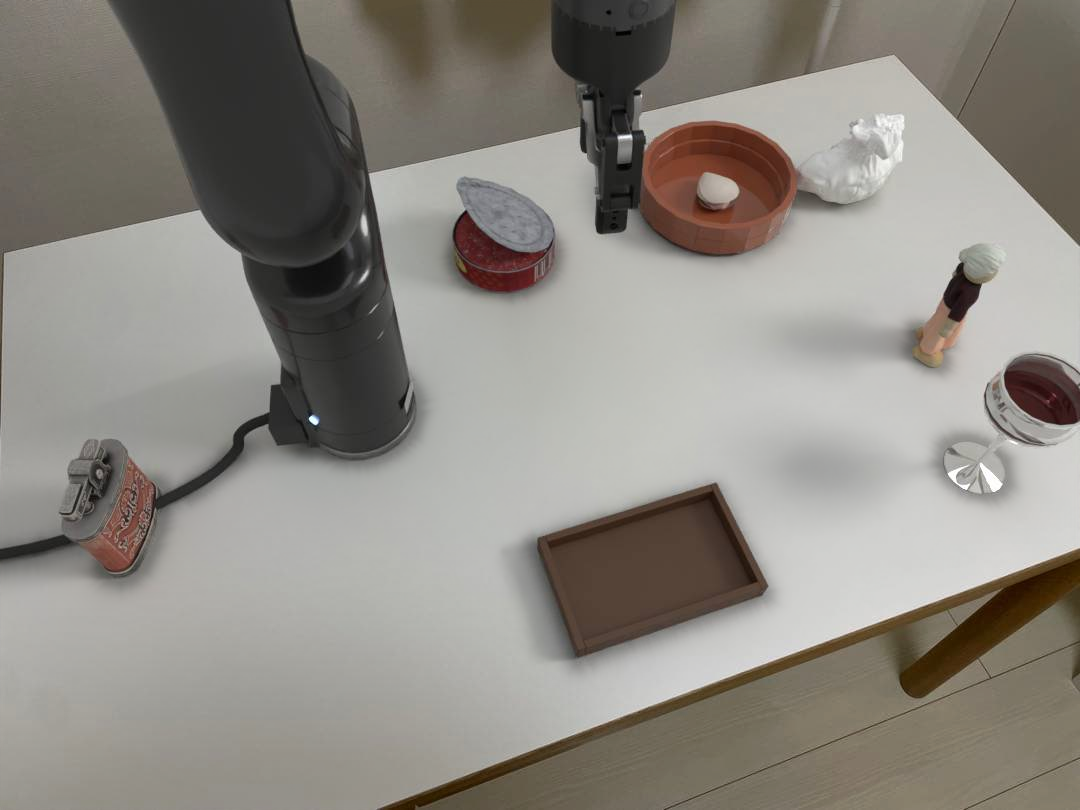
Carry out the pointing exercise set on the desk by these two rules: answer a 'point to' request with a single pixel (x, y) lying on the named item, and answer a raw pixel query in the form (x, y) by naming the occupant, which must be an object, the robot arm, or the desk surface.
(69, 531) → the lighter
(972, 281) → the grandmother figurine
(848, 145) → the bust
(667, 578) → the tray
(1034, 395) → the wineglass
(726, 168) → the bowl
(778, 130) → the desk surface
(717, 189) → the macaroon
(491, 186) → the canned food
